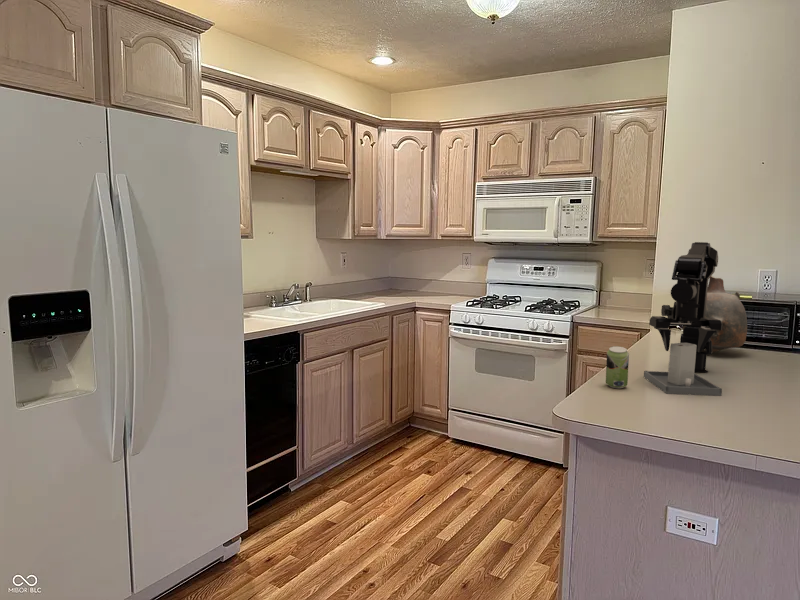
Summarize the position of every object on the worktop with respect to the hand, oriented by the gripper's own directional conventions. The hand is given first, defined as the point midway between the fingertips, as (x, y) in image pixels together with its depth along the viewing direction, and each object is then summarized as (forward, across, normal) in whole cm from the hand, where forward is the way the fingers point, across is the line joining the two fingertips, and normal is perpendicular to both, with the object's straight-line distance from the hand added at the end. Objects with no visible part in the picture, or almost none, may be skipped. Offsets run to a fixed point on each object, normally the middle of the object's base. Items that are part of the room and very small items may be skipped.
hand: (682, 351), depth 161 cm
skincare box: (+10, 0, 0) cm, 10 cm away
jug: (+11, -33, -51) cm, 62 cm away
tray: (+11, 0, 0) cm, 11 cm away
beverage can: (+11, +20, +4) cm, 23 cm away
